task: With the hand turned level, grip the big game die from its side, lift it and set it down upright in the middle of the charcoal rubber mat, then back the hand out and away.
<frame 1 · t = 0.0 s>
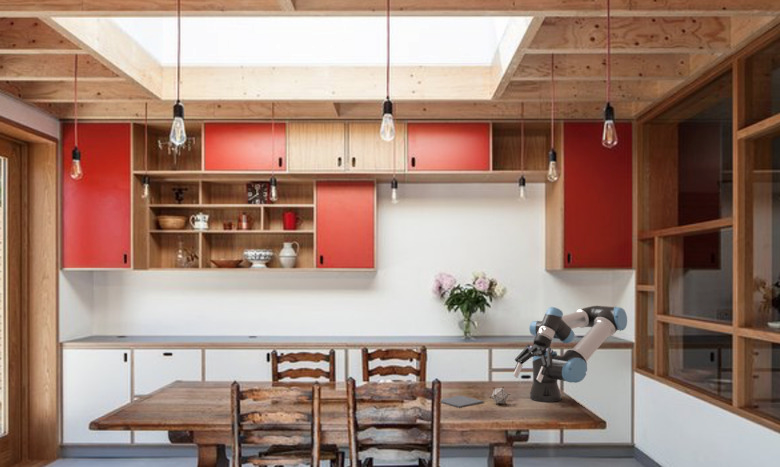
hand: (526, 378, 284), 15 cm above the table, tool tilted 35°, fingers open, 13 cm apart
game die: (499, 404, 301), on the table
mat: (459, 402, 305), on the table
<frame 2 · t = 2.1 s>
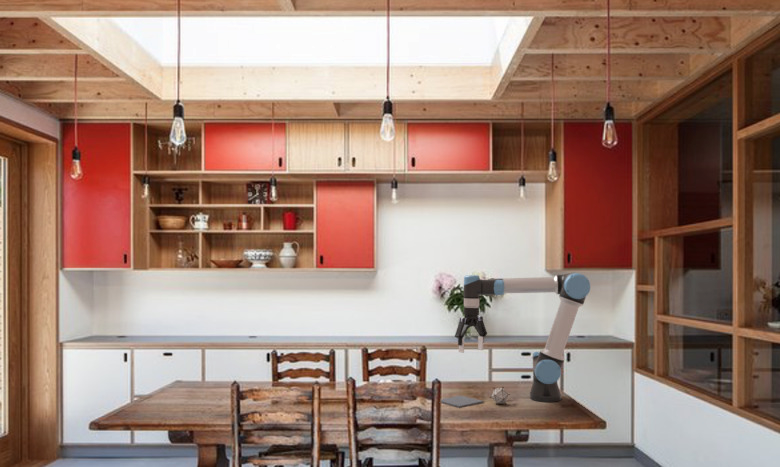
hand: (471, 351, 305), 25 cm above the table, tool pointing down, fingers open, 13 cm apart
nothing on the table moved.
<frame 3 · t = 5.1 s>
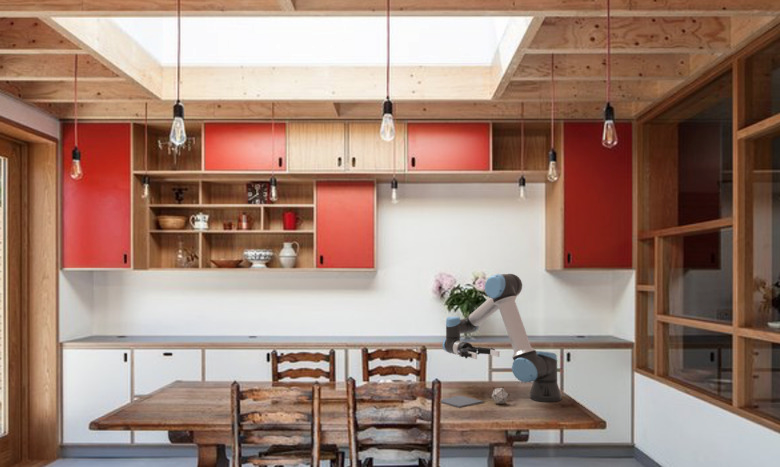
hand: (487, 355, 310), 22 cm above the table, tool horizontal, fingers open, 13 cm apart
nothing on the table moved.
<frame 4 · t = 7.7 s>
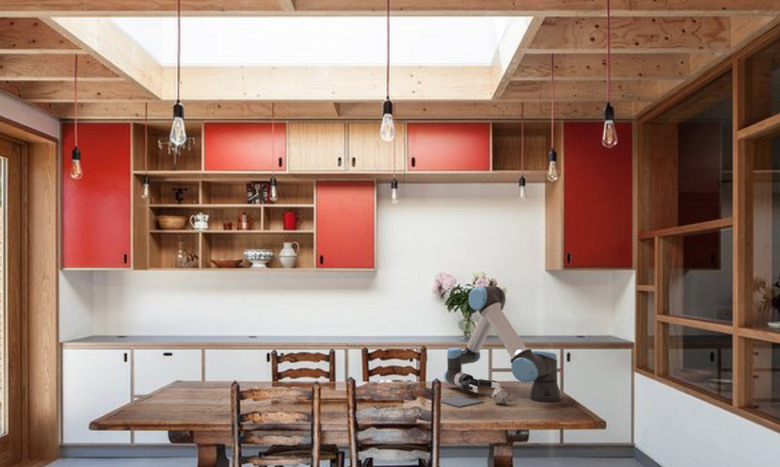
hand: (488, 388, 309), 6 cm above the table, tool horizontal, fingers open, 13 cm apart
nothing on the table moved.
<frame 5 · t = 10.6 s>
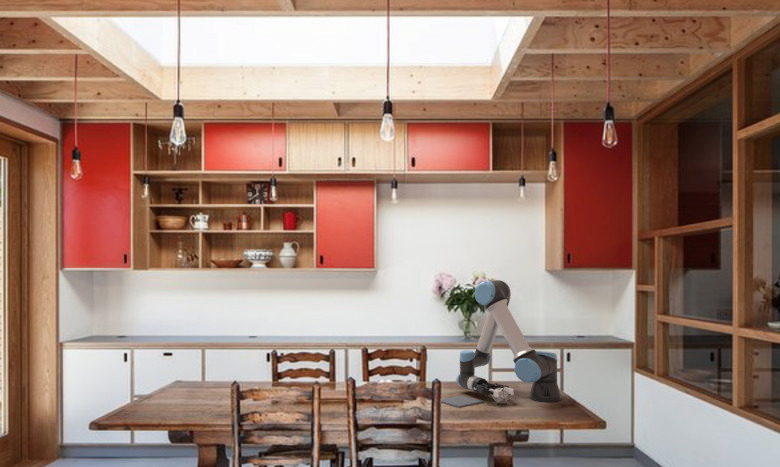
hand: (505, 393, 296), 6 cm above the table, tool horizontal, fingers closed on game die, 8 cm apart
game die: (500, 404, 301), on the table, touching gripper
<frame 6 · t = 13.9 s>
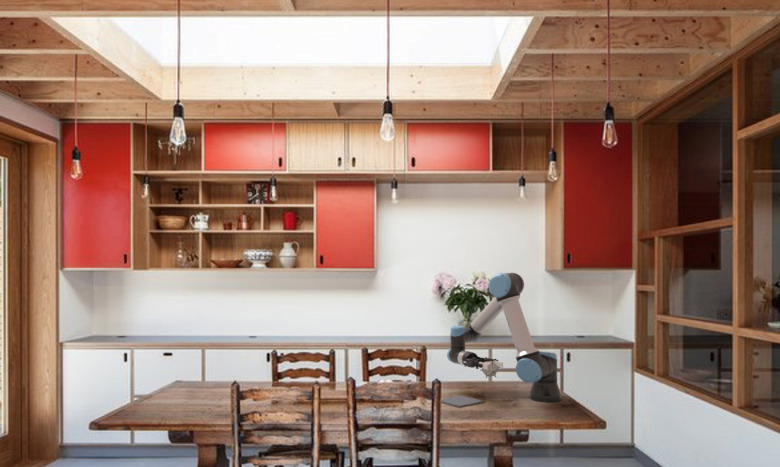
hand: (494, 366, 299), 18 cm above the table, tool horizontal, fingers closed on game die, 8 cm apart
game die: (489, 377, 303), point 12 cm above the table, touching gripper
when the fingers open (8 cm above the table, at t = 17.4 s): game die drops 1 cm, resting on mat.
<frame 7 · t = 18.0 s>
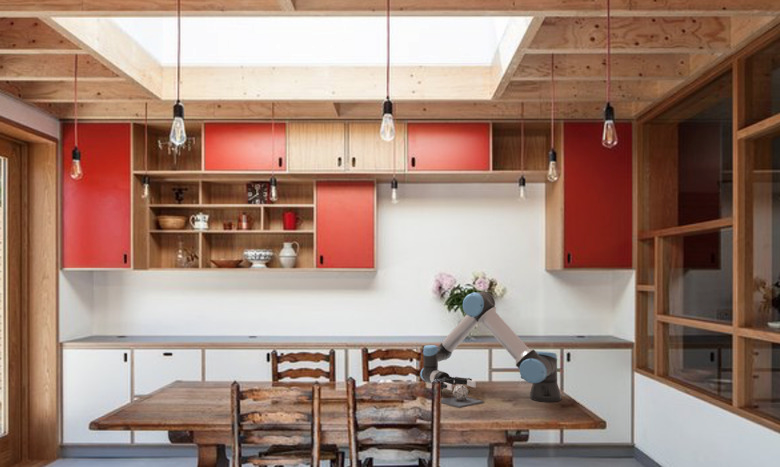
hand: (463, 386, 303), 8 cm above the table, tool horizontal, fingers open, 13 cm apart
game die: (460, 400, 305), point 1 cm above the table, touching mat
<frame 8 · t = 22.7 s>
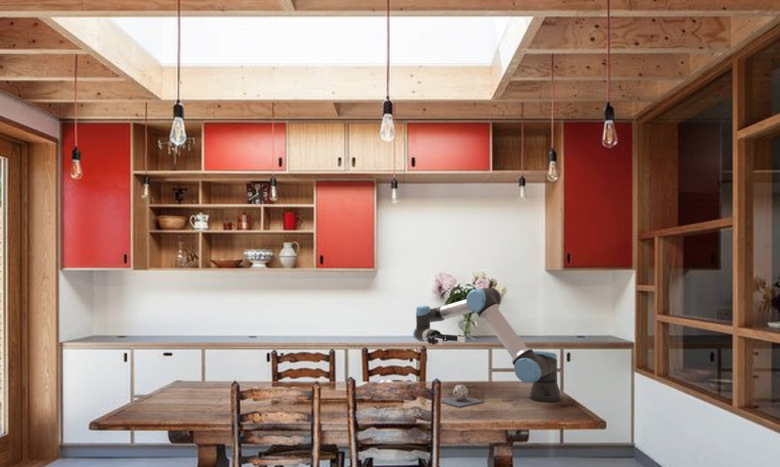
hand: (453, 341, 317), 28 cm above the table, tool horizontal, fingers open, 13 cm apart
nothing on the table moved.
at the end: game die inside the target area on the mat (0.4 cm from its centre), point 0.6 cm above the mat's base; game die tilted 0°; the gripper is holding nothing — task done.
